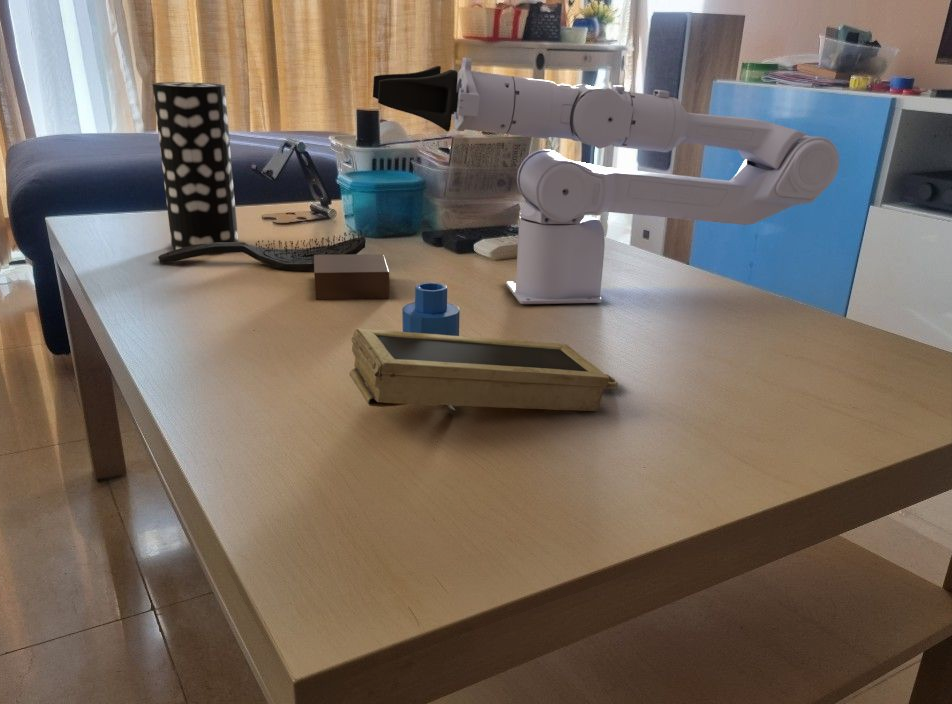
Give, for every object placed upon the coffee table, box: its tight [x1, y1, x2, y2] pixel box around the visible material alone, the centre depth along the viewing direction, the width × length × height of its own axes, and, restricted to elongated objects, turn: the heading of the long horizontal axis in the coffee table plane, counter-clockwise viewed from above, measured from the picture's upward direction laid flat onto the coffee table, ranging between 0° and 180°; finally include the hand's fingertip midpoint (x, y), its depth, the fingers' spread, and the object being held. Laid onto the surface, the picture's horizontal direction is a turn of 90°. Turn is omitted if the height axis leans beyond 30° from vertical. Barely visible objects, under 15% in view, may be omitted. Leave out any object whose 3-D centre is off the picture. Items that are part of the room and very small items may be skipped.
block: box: [313, 253, 391, 301], centre depth 95 cm, size 8×8×3 cm
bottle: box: [401, 281, 461, 336], centre depth 74 cm, size 5×5×7 cm
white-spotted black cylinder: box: [152, 81, 239, 255], centre depth 106 cm, size 8×8×20 cm
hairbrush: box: [158, 228, 367, 272], centre depth 103 cm, size 8×4×25 cm
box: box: [349, 327, 619, 412], centre depth 66 cm, size 8×22×5 cm, turn 114°
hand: (375, 89), depth 83 cm, fingers open, 7 cm apart
